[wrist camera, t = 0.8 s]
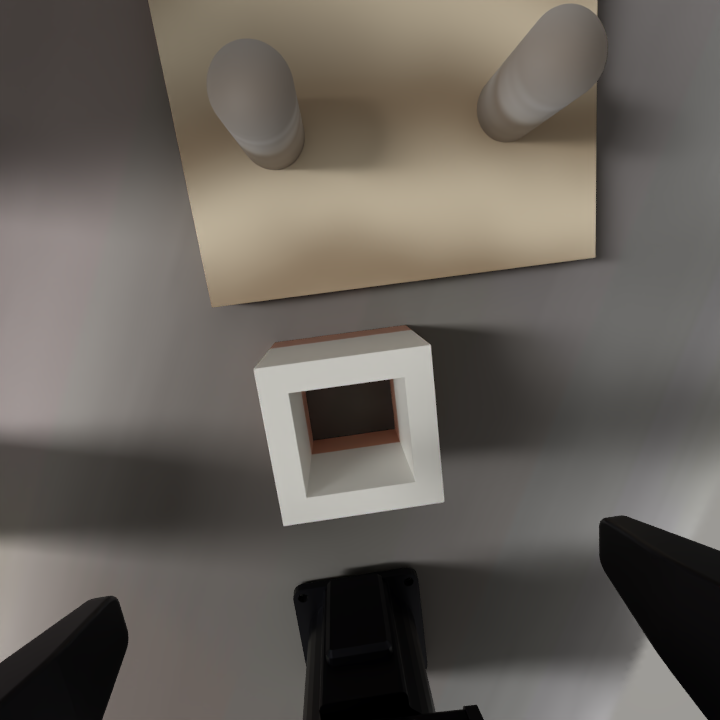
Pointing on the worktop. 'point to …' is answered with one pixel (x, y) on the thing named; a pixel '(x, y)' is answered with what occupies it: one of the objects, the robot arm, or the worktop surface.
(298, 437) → the sleeve
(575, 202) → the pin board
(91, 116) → the worktop surface
